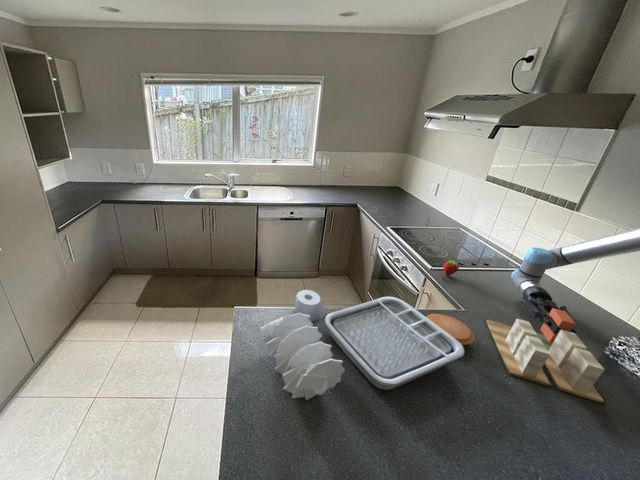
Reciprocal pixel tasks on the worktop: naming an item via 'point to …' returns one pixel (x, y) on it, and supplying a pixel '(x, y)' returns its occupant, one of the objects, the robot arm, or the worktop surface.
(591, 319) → the worktop surface
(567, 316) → the red rectangular block
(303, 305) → the toilet tissue
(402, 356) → the dish rack
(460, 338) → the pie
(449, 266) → the strawberry
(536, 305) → the robot arm
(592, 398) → the cubes on wooden plank
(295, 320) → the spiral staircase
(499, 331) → the wooden base with cubes
